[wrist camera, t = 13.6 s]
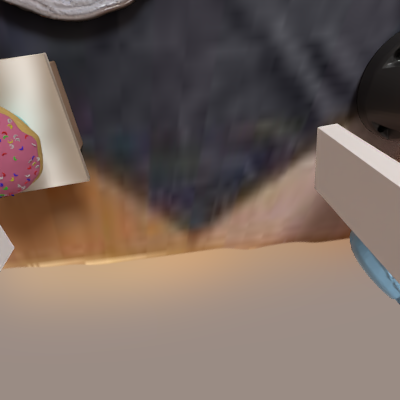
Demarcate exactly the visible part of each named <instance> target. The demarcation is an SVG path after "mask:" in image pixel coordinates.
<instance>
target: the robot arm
mask: <svg viewBox="0 0 400 400" xmlns="http://www.w3.org/2000/svg"><path fill="white" fill-rule="evenodd" d="M357 107H358V113H359V116H360V119H361V121H362V122H363V124H364V125H365V127H366V128H367V129H369V130H370V131H371V132H373V133H375V134H377V135H378V136H380V137H382V138H384V139H387V140H391V141H399V142H400V32H398V33H397V34H395V35H394V36H393V37H391V38H390V39H389V40H388V41H387V42H386V43H385V44H384V45H383V46H382V47H381V48H380V49H379V50H378V52H377V53H376V54H375V55H374V57H373V58H372V60H371V61H370V63H369V64H368V66H367V68H366V70H365V72H364V74H363V77H362V79H361V82H360V86H359V90H358V96H357ZM314 188H315V189H316V190H317V192H318V193H319V194H320V195H321V196H322V197H323V198H324V199H325V201H326V202H327V203H328V204H329V205H330V206H331V207H332V208H333V210H334V211H335V212H336V213H337V214H338V215H339V216H340V218H341V219H342V220H343V221H344V222H345V223H346V224H347V225H348V227H349V228H350V229H351V230H352V231H351V233H350V243H351V248H352V251H353V253H354V255H355V257H356V259H357V261H358V262H359V264H360V265H361V267H362V268H363V270H365V272H366V273H367V275H368V276H369V277H370V278H371V279H372V280H373V281H374V283H375V284H376V285H377V286H378V287H379V288H380V289H381V290H382V291H383V292H385V293H386V294H387V295H388V296H389V297H390V298H392V299H396V301H397V302H398V303H399V304H400V163H399V162H397V161H396V160H394V159H392V158H391V157H389V156H388V155H386V154H384V153H383V152H381V151H380V150H378V149H376V148H375V147H373V146H372V145H370V144H369V143H367V142H365V141H364V140H362V139H361V138H359V137H357V136H356V135H354V134H353V133H351V132H349V131H348V130H346V129H345V128H343V127H341V126H340V125H338V124H332V125H327V126H322V127H318V129H317V149H316V168H315V187H314ZM13 249H14V246H13V244H12V243H11V241H10V240H9V238H8V237H7V235H6V233H5V232H4V230H3V229H2V227H1V226H0V271H1V269H2V268H3V266H4V264H5V263H6V261H7V259H8V258H9V256H10V254H11V253H12V251H13Z"/></svg>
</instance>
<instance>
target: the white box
mask: <svg viewBox="0 0 400 400" xmlns="http://www.w3.org/2000/svg"><path fill="white" fill-rule="evenodd" d="M0 106H1V107H3V108H5V109H6V110H8V111H10V112H11V113H13V114H15V115H17V116H19V117H20V118H21V119H23V120H24V121H25V122H26V123H27V125H28V126H29V127H30V128H31V129H32V130H33V131H34V132H35V133H36V134H37V135H38V136H39V138H40V142H41V147H42V154H43V170H42V173H41V175H40V177H39V178H38V179H37V180H36V181H35V182H34V183H32V184H31V185H30V186H29V187H28V188H27V189H25V190H23V191H21V192H27V191H33V190H39V189H45V188H51V187H57V186H63V185H68V184H74V183H80V182H86V181H89V179H90V176H89V173H88V171H87V168H86V165H85V162H84V159H83V156H82V154H81V151H80V149H81V147H82V145H83V142H82V139H81V136H80V133H79V130H78V128H77V125H76V122H75V119H74V116H73V113H72V110H71V107H70V104H69V101H68V98H67V96H66V93H65V90H64V87H63V84H62V81H61V78H60V75H59V72H58V69H57V67H56V64H55V61H50V62H49V60H48V58H47V55H46V53H42V54H35V55H28V56H21V57H14V58H7V59H0ZM21 192H19V193H21Z"/></svg>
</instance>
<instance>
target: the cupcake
mask: <svg viewBox="0 0 400 400" xmlns="http://www.w3.org/2000/svg"><path fill="white" fill-rule="evenodd" d="M42 170H43V154H42V147H41V142H40V138H39V136H38V135H37V134H36V133H35V132H34V131H33V130H32V129H31V128H30V127H29V126H28V125H27V123H26V122H25V121H24V120H23V119H21V118H20V117H19V116H17V115H15V114H13V113H11V112H10V111H8V110H6V109H5V108H3V107H1V106H0V198H1V197H7V196H10V195H12V196H14V194H17V193H19V192H21V191H23V190H25V189H27V188H28V187H29V186H30V185H31V184H32V183H34V182H35V181H36V180H37V179H38V178H39V177H40V175H41V173H42Z"/></svg>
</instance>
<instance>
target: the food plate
mask: <svg viewBox="0 0 400 400" xmlns="http://www.w3.org/2000/svg"><path fill="white" fill-rule="evenodd" d="M1 1H3V2H5V3H7V4H11V5H12V4H13V5H14V6H16V7H18V8H20V9H22V10H25V11H27V12H28V11H30V12H31V13H35V14H37V15H40V16H43V17H46V18H50V19H55V20H60V21H66V22H72V21H73V22H83V21H88V20H92V19H96V18H98V17H101V16H103V15H105V14H107V13H111V12H114V11H116V10H119V9H120V10H121V9H124V8H126V7H128V6H130V5H131V4H132V3H134V2H135V1H136V0H1Z"/></svg>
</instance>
